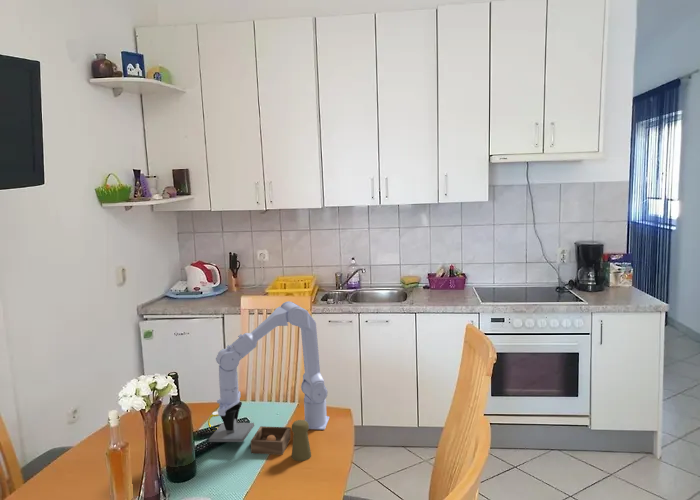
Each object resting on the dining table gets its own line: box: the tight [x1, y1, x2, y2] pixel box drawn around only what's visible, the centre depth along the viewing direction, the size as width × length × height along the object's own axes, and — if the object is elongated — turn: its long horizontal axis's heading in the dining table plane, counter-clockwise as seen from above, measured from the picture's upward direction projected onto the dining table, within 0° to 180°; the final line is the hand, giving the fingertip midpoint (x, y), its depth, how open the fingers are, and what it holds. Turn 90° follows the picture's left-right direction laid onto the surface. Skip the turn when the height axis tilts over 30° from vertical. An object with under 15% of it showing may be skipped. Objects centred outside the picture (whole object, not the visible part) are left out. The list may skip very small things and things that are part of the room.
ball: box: [266, 435, 276, 441], centre depth 168 cm, size 3×3×3 cm
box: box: [250, 425, 292, 456], centre depth 168 cm, size 10×10×4 cm
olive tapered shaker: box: [291, 419, 312, 462], centre depth 161 cm, size 6×6×11 cm
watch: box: [207, 410, 219, 427], centre depth 181 cm, size 6×3×6 cm, turn 98°
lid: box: [208, 418, 255, 443], centre depth 169 cm, size 11×11×4 cm
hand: (231, 427), depth 169 cm, fingers closed on lid, 3 cm apart
